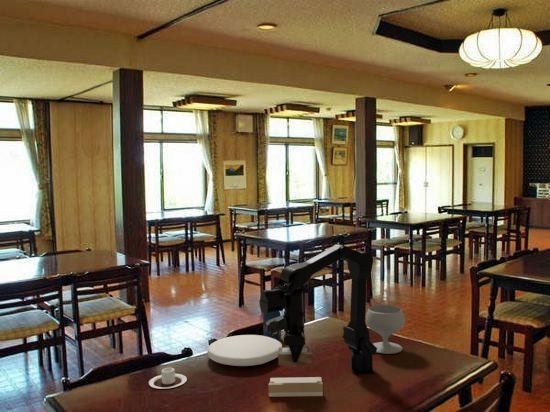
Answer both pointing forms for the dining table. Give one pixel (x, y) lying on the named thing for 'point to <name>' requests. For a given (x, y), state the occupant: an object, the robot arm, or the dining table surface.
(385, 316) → the chalice
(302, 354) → the frame
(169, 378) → the candle holder
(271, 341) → the white thick flat disc
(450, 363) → the dining table surface
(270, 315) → the soda can
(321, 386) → the wall board
